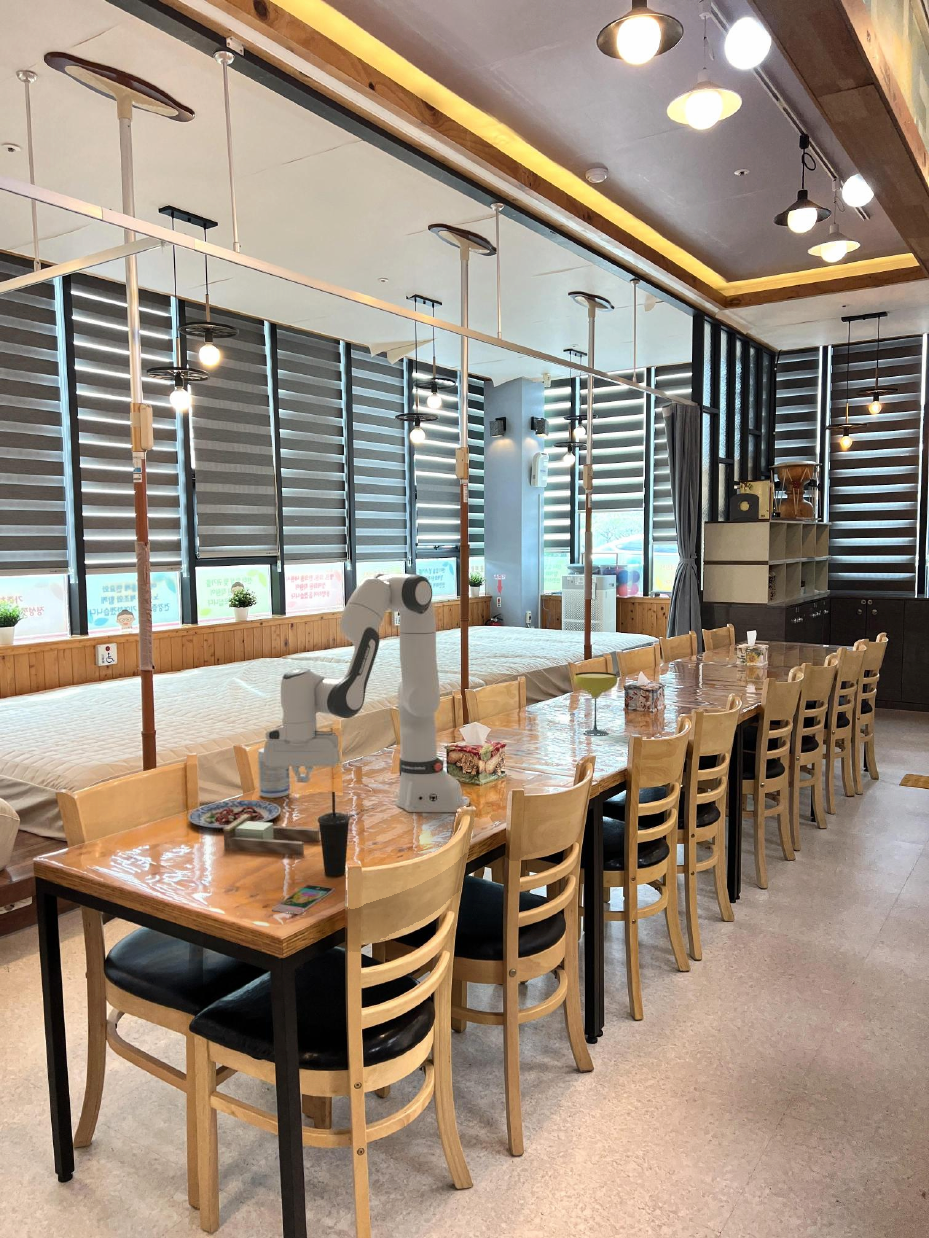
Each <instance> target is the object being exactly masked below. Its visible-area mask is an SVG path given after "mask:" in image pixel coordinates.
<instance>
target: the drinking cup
mask: <svg viewBox="0 0 929 1238" xmlns="http://www.w3.org/2000/svg"><path fill="white" fill-rule="evenodd" d="M331 803H332V804H331V805H332V806H331V807H332V809H331V812H328V813H325V814H323V815H321V816H318V818H317V823H318V825H319V837H320V843H321V851H322V861H323V869H324V876H325V877H328V878H339V877H343V876H344V875H345V874H346V867H347V866H346V864H347V849H348V838H349V824H350V823H349V822H350V821H351V817H350V816H349V815H348V814H346V813H345V814H344V813H343V812H337V811H336V792H335V791H331ZM345 866H346V867H345ZM344 873H345V874H344Z"/></svg>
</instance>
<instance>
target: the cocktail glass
mask: <svg viewBox="0 0 929 1238" xmlns="http://www.w3.org/2000/svg"><path fill="white" fill-rule="evenodd" d="M573 676H574V677H573V682H574V684H575V686H577V687H578V688H579V689H581V690H582V691H584V692H586V693H588V694H590V696H591V697H592V699H594V723H593V729H590V730H589V729H586V730H584V731H585V732H587V734H594V735H597V734H600V735H601V734H602V735H603V734H607V735H608V734H609V732H608V733H607V731H605V730H602V729H598V727H597V699H598V698H600V696H601V695H602V694H603V693H605V692H607V691H609V690H611V689H613V688H614V687H615V686H616V685H617V684H618V675H617V674H616V673H612V672H603V671H602V672H601V671H586V672H585V671H584V672H577V673H574V675H573Z"/></svg>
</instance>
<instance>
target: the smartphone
mask: <svg viewBox="0 0 929 1238" xmlns="http://www.w3.org/2000/svg"><path fill="white" fill-rule="evenodd" d="M333 890H334V891H335V888H333V887H328V886H320V885H314V884H306V885H304V887H302V888H300V889H299V890H297V891H296V892H295V893H293V894H291V895H290V896H288V897H287V898H285V899H284V900H282V901H281V902H280V903H277V904H276V905H275V906H274V907H272V908H271V911H272V910H273V912H277V911H280V912H279V913H283V912H288V913H287V914H289V912H290V913H295V914H300V913H301V912H303V911H305V909H307V908H309V907H310V906H312V905H313V904H315V903H316V902H317V903H318V902H320V901H321V900H322V898H323V899H324V898H326V896H328V895H330V894H331V893H332V892H334V891H333ZM317 903H316V904H317ZM316 904H315V905H316ZM313 906H314V905H313ZM313 906H312V907H313ZM303 909H304V910H303ZM309 909H310V908H309ZM305 912H306V911H305ZM303 913H304V912H303Z"/></svg>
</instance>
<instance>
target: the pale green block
mask: <svg viewBox="0 0 929 1238" xmlns="http://www.w3.org/2000/svg"><path fill="white" fill-rule="evenodd" d="M273 826H274V823H273V822H267V821H265V822H252V821H245V822H243V823H242V824H240V825H239V826H237V827H236V828H235V837H244V838H257V839H271V840H275V839H273Z"/></svg>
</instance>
